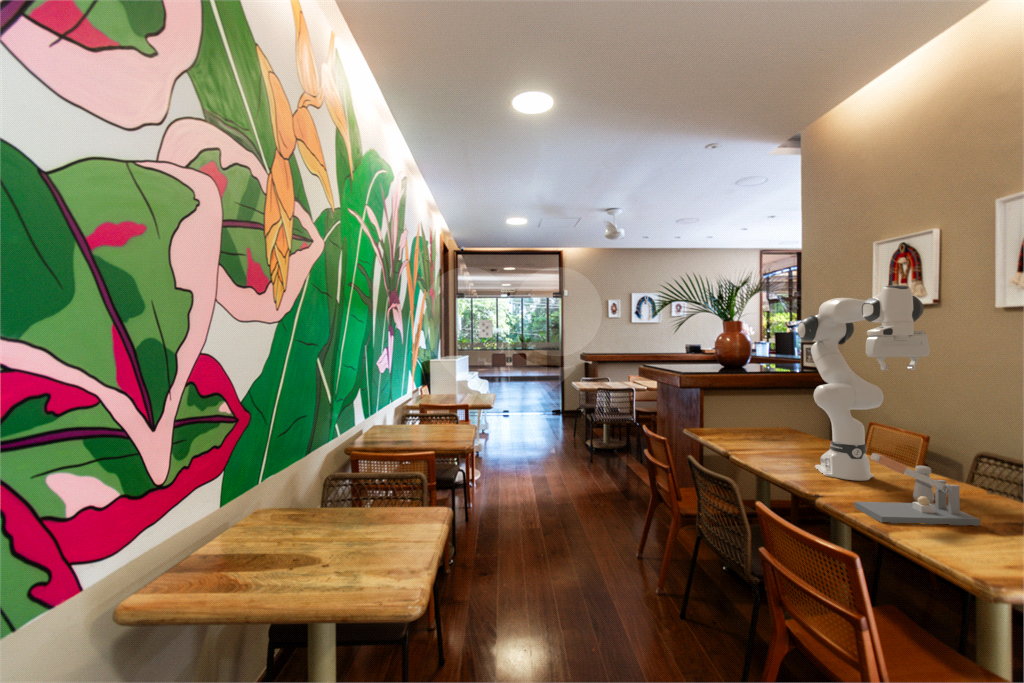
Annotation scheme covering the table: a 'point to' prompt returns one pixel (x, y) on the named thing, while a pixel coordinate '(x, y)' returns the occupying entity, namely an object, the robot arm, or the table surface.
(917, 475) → the lever
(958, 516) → the base
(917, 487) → the salt shaker
